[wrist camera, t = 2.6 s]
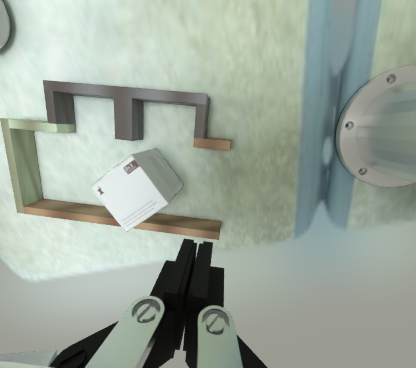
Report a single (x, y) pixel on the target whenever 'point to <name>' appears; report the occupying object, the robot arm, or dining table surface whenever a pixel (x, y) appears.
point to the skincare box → (137, 188)
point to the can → (4, 25)
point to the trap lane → (124, 130)
